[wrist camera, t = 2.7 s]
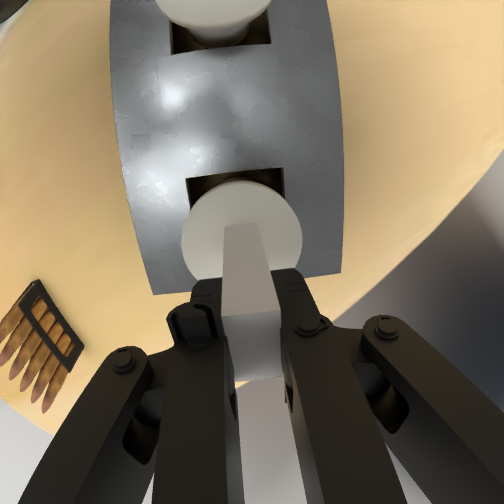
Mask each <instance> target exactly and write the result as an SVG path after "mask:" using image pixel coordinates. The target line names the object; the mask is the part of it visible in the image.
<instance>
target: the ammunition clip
mask: <svg viewBox="0 0 504 504" xmlns="http://www.w3.org/2000/svg"><path fill="white" fill-rule="evenodd" d="M32 305H33V306H32ZM19 321H20V322H19ZM18 323H19V324H18ZM17 324H18V325H17ZM16 325H17V326H16ZM15 326H16V328H15ZM14 328H15V329H14ZM13 329H14V331H13V332H12V333H11V335H10V338H9V340H8V342H7V343H6V345H5V347H4V348H3V350H2V352H1V354H0V367H1V366H3V365H4V364H5V363H6V362H7V361H8V360H9V359H10V358H11V356H12V355H13V353H14V352H15V351H16V350H17V348H18V347H19V346H20V345H21V344H22V343H23V342H24V343H23V344H22V346H21V348H20V351H19V353H18V355H17V357H16V359H15V361H14V362H13V364H12V367H11V370H10V373H9V380H12V379H14V378H15V377H16V376H17V375H18V374H19V373H20V371H21V370H22V369H23V367H24V365H25V364H26V363H27V361H28V360H29V359H30V358H31V359H30V362H29V365H28V367H27V369H26V371H25V373H24V375H23V378H22V381H21V385H20V392H23V391H25V390H26V389H27V388H28V387H29V385H30V384H31V382H32V381H33V379H34V377H35V376H36V374H37V373H38V371H39V370H40V372H39V376H38V378H37V380H36V383H35V385H34V388H33V391H32V395H31V403H34V402H35V401H37V399H38V398H39V397H40V396H41V394H42V392H43V390H44V388H45V387H46V385H47V383H48V382H49V385H48V388H47V391H46V394H45V396H44V399H43V403H42V413H45V412H46V411H47V410H48V409H49V408H50V406H51V405H52V403H53V401H54V399H55V397H56V395H57V393H58V392H59V390H60V389H61V387H62V385H63V383H64V381H65V378H66V376H67V374H68V373H70V372H71V370H72V368H73V367H74V365H75V363H76V361H77V359H78V357H79V356H80V354H81V352H82V350H83V349H84V344H83V343H82V342H81V341H80V339H79V338H78V337H77V335H76V334H75V333H74V331H73V330H72V329H71V327H70V326H69V324H68V323H67V322H66V320H65V319H64V317H63V316H62V314H61V313H60V311H59V310H58V308H57V307H56V305H55V304H54V302H53V301H52V299H51V298H50V296H49V295H48V293H47V291H46V290H45V288H44V286H43V285H42V283H41V281H40V280H39V279H38V280H36V281H34V282H32V283H30V285H29V286H28V287H27V288H26V290H25V291H24V292H23V293H22V295H21V296H20V297H19V298H18V300H17V301H16V302H15V304H14V305H13V306H12V308H11V309H10V311H9V312H8V313H7V314H6V315H5V317H4V318H3V319H2V321H1V323H0V343H1V342H2V341H3V339H5V337H6V336H7V335H8V334H9V333H10V332H11V331H12V330H13ZM27 336H28V337H27ZM26 337H27V338H26ZM25 339H26V340H25ZM24 340H25V341H24Z"/></svg>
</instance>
